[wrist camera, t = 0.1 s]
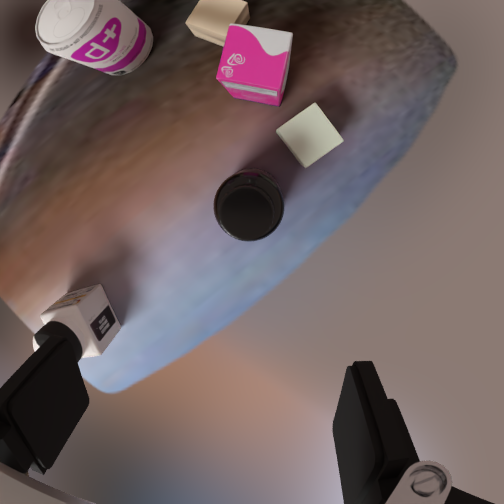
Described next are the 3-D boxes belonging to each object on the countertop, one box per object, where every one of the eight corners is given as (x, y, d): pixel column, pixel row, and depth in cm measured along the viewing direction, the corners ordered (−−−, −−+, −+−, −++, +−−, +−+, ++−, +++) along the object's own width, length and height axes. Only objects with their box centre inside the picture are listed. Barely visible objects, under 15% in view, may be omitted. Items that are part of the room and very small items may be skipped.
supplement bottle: (290, 211, 39) (298, 238, 28) (237, 231, 40) (224, 265, 29) (268, 158, 37) (268, 162, 26) (215, 179, 38) (192, 193, 27)
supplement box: (241, 54, 33) (229, 20, 23) (290, 63, 34) (297, 31, 23) (230, 98, 35) (214, 78, 24) (280, 108, 35) (284, 91, 24)
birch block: (214, 5, 31) (207, -11, 27) (250, 18, 32) (247, 2, 27) (195, 36, 33) (185, 22, 28) (230, 49, 33) (225, 36, 29)
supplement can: (165, 52, 34) (113, 10, 19) (112, 88, 35) (42, 68, 21) (140, 10, 32) (86, -37, 17) (91, 45, 33) (23, 16, 19)
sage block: (309, 108, 35) (315, 102, 30) (334, 141, 36) (343, 140, 32) (275, 132, 36) (276, 129, 32) (301, 165, 37) (306, 168, 33)
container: (101, 282, 44) (53, 326, 31) (122, 327, 46) (84, 379, 33) (65, 293, 45) (17, 333, 32) (86, 335, 47) (46, 382, 35)
